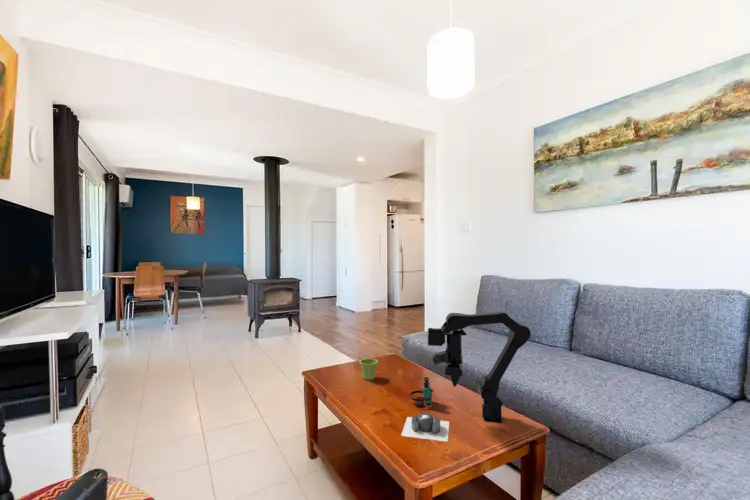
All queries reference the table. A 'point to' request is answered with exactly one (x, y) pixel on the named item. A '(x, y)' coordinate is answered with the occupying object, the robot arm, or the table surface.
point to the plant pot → (368, 368)
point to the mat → (426, 435)
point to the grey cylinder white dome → (425, 422)
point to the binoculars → (424, 395)
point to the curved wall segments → (434, 426)
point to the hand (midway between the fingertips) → (454, 386)
